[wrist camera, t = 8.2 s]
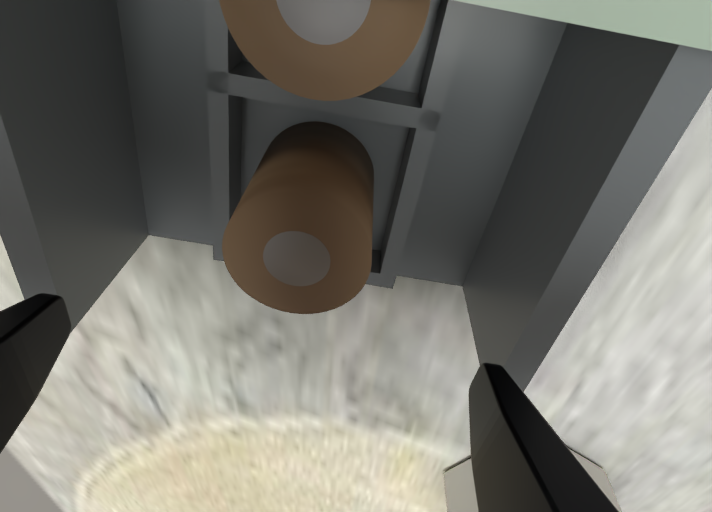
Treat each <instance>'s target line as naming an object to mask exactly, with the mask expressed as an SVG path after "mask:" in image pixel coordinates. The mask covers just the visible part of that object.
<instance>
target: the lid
mask: <svg viewBox="0 0 712 512" xmlns="http://www.w3.org/2000/svg"><path fill="white" fill-rule="evenodd" d="M454 1H459V2H464V3H469V4H475V5H480V6H485V7H490V8H495V9H500V10H505V11H510V12H515V13H520V14H526V15H531V16H536V17H541V18H546V19H551V20H556V21H561V22H566V23H571V24H577V25H582V26H587V27H592V28H597V29H602V30H607V31H612V32H617V33H622V34H628V35H633V36H638V37H643V38H648V39H653V40H658V41H663V42H668V43H673V44H679V45H684V46H689V47H694V48H699V49H704V50H709V51H712V0H454Z"/></svg>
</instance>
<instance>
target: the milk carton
mask: <svg viewBox="0 0 712 512" xmlns="http://www.w3.org/2000/svg"><path fill="white" fill-rule="evenodd" d="M568 449H569V448H568ZM569 450H570V449H569ZM570 451H571V452H572V454H573V455H574V456H575V457H576V459H577V460H578V461H579V462H580V464H581V465H582V466H583V467H584V469H585V470H586V471H587V472H588V474H589V475H590V476H591V477H592V479H593V480H594V481H595V482H596V484H597V485H598V486H599V487H600V489H601V490H602V491H603V492H604V494H605V495H606V496H607V497H608V499H609V500H610V501H611V502H612V504H613V505H614V506H615V507H616V509H617V510H618V511H619V512H622V511H621V509H620V506H619V504H618V501H617V499H616V496H615V494H614V491H613V489H612V487H611V484H610V482H609V479H608V477H607V474H606V472H605V471H604V470H603V469H602V468H600V467H599V466H597V465H595V464H594V463H592V462H590V461H589V460H587V459H585V458H584V457H582V456H580V455H579V454H577V453H575V452H574V451H572V450H570ZM444 484H445V494H446V503H447V512H478V505H477V499H476V492H475V485H474V478H473V471H472V463H471V458H470V459H469V460H467V461H465V462H463V463H461V464H459V465H457V466H456V467H454V468H452V469H450V470H448V471H447V472H445V473H444Z"/></svg>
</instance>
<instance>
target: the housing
mask: <svg viewBox="0 0 712 512" xmlns="http://www.w3.org/2000/svg"><path fill="white" fill-rule="evenodd" d="M711 88H712V51H709V50H704V49H699V48H694V47H689V46H684V45H679V44H673V43H668V42H663V41H658V40H653V39H648V38H643V37H638V36H633V35H628V34H622V33H617V32H612V31H607V30H602V29H597V28H592V27H587V26H582V25H577V24H571V23H566V22H561V21H556V20H551V19H546V18H541V17H536V16H531V15H526V14H520V13H515V12H510V11H505V10H500V9H495V8H490V7H485V6H480V5H475V4H469V3H464V2H459V1H454V0H0V235H1V237H2V240H3V243H4V245H5V248H6V251H7V254H8V256H9V259H10V262H11V264H12V267H13V270H14V272H15V275H16V278H17V280H18V283H19V286H20V288H21V291H22V294H23V296H24V299H25V300H26V299H28V298H30V297H32V296H34V295H36V294H39V293H47V294H53V295H59V296H61V297H62V298H63V299H64V300H65V303H66V307H67V310H68V313H69V317H70V320H71V332H72V330H73V329H74V328H75V327H76V325H77V324H78V323H79V322H80V320H81V319H82V318H83V317H84V315H85V314H86V313H87V312H88V310H89V309H90V308H91V307H92V305H93V304H94V303H95V301H96V300H97V299H98V298H99V296H100V295H101V294H102V293H103V291H104V290H105V289H106V288H107V286H108V285H109V284H110V283H111V281H112V280H113V279H114V278H115V276H116V275H117V274H118V273H119V271H120V270H121V269H122V268H123V266H124V265H125V264H126V263H127V261H128V260H129V259H130V258H131V256H132V255H133V254H134V253H135V251H136V250H137V249H138V248H139V246H140V245H141V244H142V243H143V241H144V240H145V239H146V238H147V236H148V235H152V236H158V237H164V238H170V239H177V240H183V241H189V242H195V243H201V244H207V245H213V259H214V260H219V261H224V258H223V252H222V240H223V235H224V232H225V229H226V227H227V224H228V222H229V221H230V219H231V217H232V215H233V213H234V211H235V209H236V207H237V205H238V203H239V202H240V200H241V198H242V196H243V194H244V192H245V190H246V188H247V186H248V184H249V182H250V181H251V179H252V177H253V175H254V173H255V171H256V169H257V167H258V165H259V163H260V162H261V160H262V158H263V156H264V154H265V152H266V150H267V148H268V147H269V145H270V143H271V142H272V141H273V139H274V138H275V137H276V136H277V135H278V134H280V133H281V132H282V131H284V130H285V129H287V128H289V127H291V126H293V125H296V124H299V123H303V122H314V121H317V122H326V123H330V124H333V125H336V126H339V127H341V128H343V129H345V130H347V131H348V132H349V133H351V134H352V135H354V136H355V137H356V138H357V139H358V140H359V141H360V142H361V143H362V145H363V146H364V147H365V149H366V150H367V152H368V154H369V156H370V158H371V161H372V165H373V170H374V195H373V230H372V263H371V271H370V274H369V277H368V279H367V281H366V283H365V284H368V285H374V286H380V287H386V288H392V289H393V286H394V282H395V279H396V275H397V276H403V277H409V278H415V279H421V280H427V281H434V282H440V283H446V284H452V285H458V286H463V290H464V295H465V299H466V304H467V308H468V313H469V318H470V322H471V327H472V331H473V336H474V340H475V345H476V350H477V354H478V359H479V363H480V365H481V364H482V363H485V362H486V363H493V364H499V365H501V366H502V367H504V369H505V370H506V371H507V372H508V374H509V375H510V376H511V377H512V379H513V380H514V381H515V382H516V384H517V385H518V386H519V387H520V389H521V390H522V391H523V392H524V390H525V389H526V387H527V385H528V384H529V382H530V381H531V379H532V377H533V376H534V374H535V373H536V371H537V369H538V368H539V366H540V364H541V363H542V361H543V360H544V358H545V356H546V355H547V353H548V352H549V350H550V348H551V347H552V345H553V343H554V342H555V340H556V339H557V337H558V335H559V334H560V332H561V331H562V329H563V327H564V326H565V324H566V322H567V321H568V319H569V318H570V316H571V314H572V313H573V311H574V310H575V308H576V306H577V305H578V303H579V301H580V300H581V298H582V297H583V295H584V293H585V292H586V290H587V289H588V287H589V285H590V284H591V282H592V280H593V279H594V277H595V276H596V274H597V272H598V271H599V269H600V267H601V266H602V264H603V263H604V261H605V259H606V258H607V256H608V255H609V253H610V251H611V250H612V248H613V246H614V245H615V243H616V242H617V240H618V238H619V237H620V235H621V234H622V232H623V230H624V229H625V227H626V225H627V224H628V222H629V221H630V219H631V217H632V216H633V214H634V213H635V211H636V209H637V208H638V206H639V204H640V203H641V201H642V200H643V198H644V196H645V195H646V193H647V192H648V190H649V188H650V187H651V185H652V183H653V182H654V180H655V179H656V177H657V175H658V174H659V172H660V171H661V169H662V167H663V166H664V164H665V162H666V161H667V159H668V158H669V156H670V154H671V153H672V151H673V150H674V148H675V146H676V145H677V143H678V141H679V140H680V138H681V137H682V135H683V133H684V132H685V130H686V129H687V127H688V125H689V124H690V122H691V120H692V119H693V117H694V116H695V114H696V112H697V111H698V109H699V108H700V106H701V104H702V103H703V101H704V99H705V98H706V96H707V95H708V93H709V91H710V90H711ZM71 332H70V333H71Z"/></svg>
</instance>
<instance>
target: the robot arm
mask: <svg viewBox="0 0 712 512" xmlns="http://www.w3.org/2000/svg"><path fill="white" fill-rule="evenodd" d="M70 332H71V320H70V317H69V313H68V310H67V307H66V303H65V300H64V299H63V298H62V297H61V296H59V295H53V294H47V293H39V294H36V295H34V296H32V297H30V298H28V299H26V300H23V301H21V302H19V303H17V304H15V305H13V306H11V307H9V308H6V309H4V310H2V311H0V453H1V452H2V450H3V449H4V447H5V446H6V444H7V443H8V441H9V440H10V438H11V437H12V435H13V434H14V432H15V430H16V429H17V427H18V426H19V424H20V423H21V421H22V420H23V418H24V417H25V415H26V414H27V412H28V411H29V409H30V408H31V406H32V404H33V403H34V401H35V400H36V398H37V396H38V394H39V393H40V391H41V389H42V387H43V385H44V383H45V381H46V379H47V377H48V375H49V373H50V372H51V370H52V368H53V366H54V364H55V362H56V360H57V358H58V356H59V354H60V352H61V350H62V348H63V346H64V344H65V342H66V340H67V339H68V337H69V334H70ZM469 417H470V444H471V463H472V471H473V478H474V485H475V492H476V499H477V505H478V512H619V511H618V510H617V509H616V507H615V506H614V505H613V504H612V502H611V501H610V500H609V499H608V497H607V496H606V495H605V494H604V492H603V491H602V490H601V489H600V487H599V486H598V485H597V484H596V482H595V481H594V480H593V479H592V477H591V476H590V475H589V474H588V472H587V471H586V470H585V469H584V467H583V466H582V465H581V464H580V462H579V461H578V460H577V459H576V457H575V456H574V455H573V454H572V452H571V451H570V450H569V449H568V447H567V446H566V445H565V444H564V442H563V441H562V440H561V439H560V437H559V436H558V435H557V434H556V432H555V431H554V430H553V429H552V427H551V426H550V425H549V424H548V422H547V421H546V420H545V419H544V417H543V416H542V415H541V414H540V412H539V411H538V410H537V409H536V407H535V406H534V405H533V404H532V402H531V401H530V400H529V399H528V397H527V396H526V395H525V394H524V392H523V391H522V390H521V389H520V387H519V386H518V385H517V384H516V382H515V381H514V380H513V379H512V377H511V376H510V375H509V374H508V372H507V371H506V370H505V369H504V367H502V366H501V365H499V364H493V363H486V362H485V363H482V364H481V365H480V367H479V369H478V371H477V373H476V375H475V377H474V379H473V381H472V383H471V385H470V388H469Z"/></svg>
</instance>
